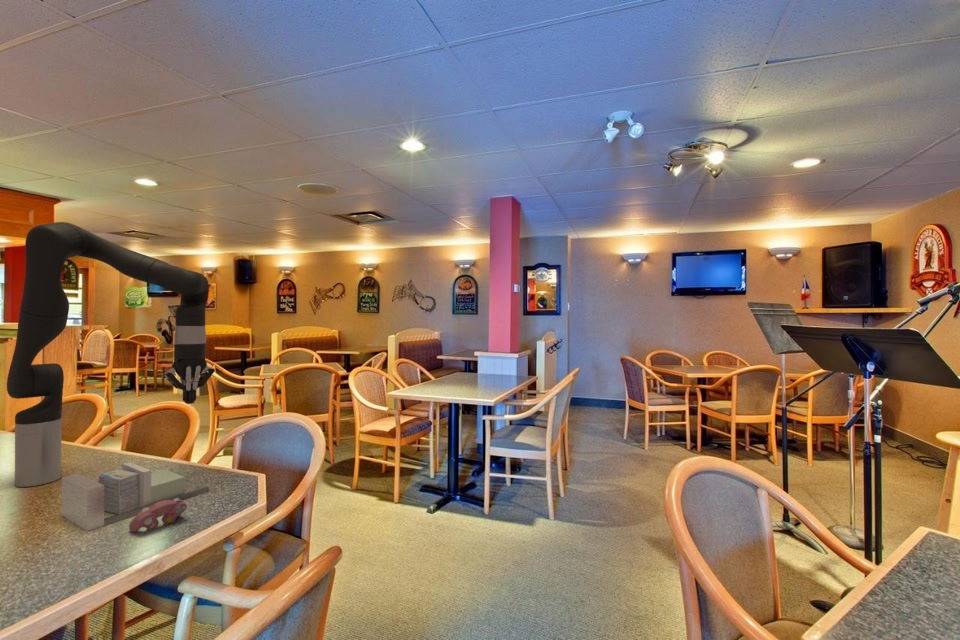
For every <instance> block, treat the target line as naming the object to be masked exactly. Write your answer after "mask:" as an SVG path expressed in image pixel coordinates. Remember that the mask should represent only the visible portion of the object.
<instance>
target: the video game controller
mask: <svg viewBox="0 0 960 640" xmlns="http://www.w3.org/2000/svg"><path fill="white" fill-rule="evenodd" d="M187 508H188V505H187V504H186V502H185V501H184V500H180V499H179V498H175V499H174V500H164V501H160V502H157V503H155V504H154V505H152V506H150V507H149V508H148V507H147V508H144V509H143V510H142V511H140V512H139V513H138V514H137V515H135V516H134V517H133V519H132V520H131V521H130V522H129V526H128V528H129V532H131V533H135V532H137V531H140V529H142V528H145V529H146V530H147V531H152V530H154V529H156V528H157V527H158V526H159V524H160V523H159V520H158V518H160V517H162V518H161V521H162V523H163V525H169V524H172V523H173V522H174V521H175V519H176V518H178V517H179V516H181V515H182V514H183V513H184V512H185V511H186V509H187Z"/></svg>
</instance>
